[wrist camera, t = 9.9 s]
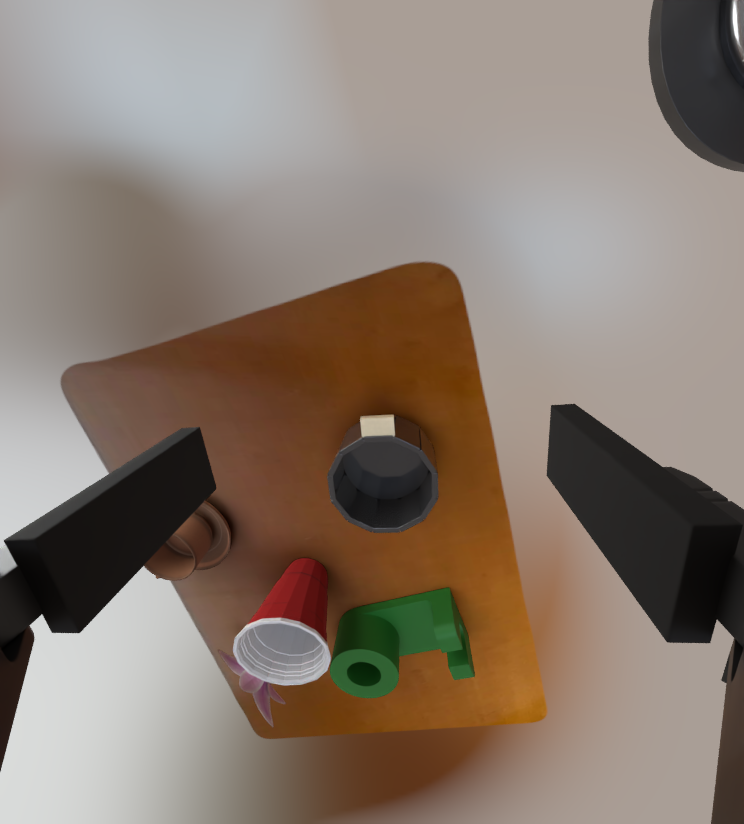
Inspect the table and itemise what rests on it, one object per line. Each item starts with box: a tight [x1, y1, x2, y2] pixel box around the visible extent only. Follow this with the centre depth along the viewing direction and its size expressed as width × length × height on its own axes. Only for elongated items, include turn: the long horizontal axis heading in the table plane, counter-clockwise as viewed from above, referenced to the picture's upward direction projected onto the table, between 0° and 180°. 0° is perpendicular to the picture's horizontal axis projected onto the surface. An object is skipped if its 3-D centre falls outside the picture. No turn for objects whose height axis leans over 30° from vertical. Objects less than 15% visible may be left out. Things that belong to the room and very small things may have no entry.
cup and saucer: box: [144, 501, 231, 581], centre depth 46 cm, size 12×12×6 cm
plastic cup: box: [233, 558, 331, 685], centre depth 45 cm, size 11×11×12 cm
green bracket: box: [330, 588, 475, 698], centre depth 49 cm, size 18×9×6 cm, turn 111°
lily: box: [218, 650, 286, 727], centre depth 52 cm, size 12×12×10 cm
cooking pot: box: [327, 415, 438, 533], centre depth 38 cm, size 13×11×6 cm
